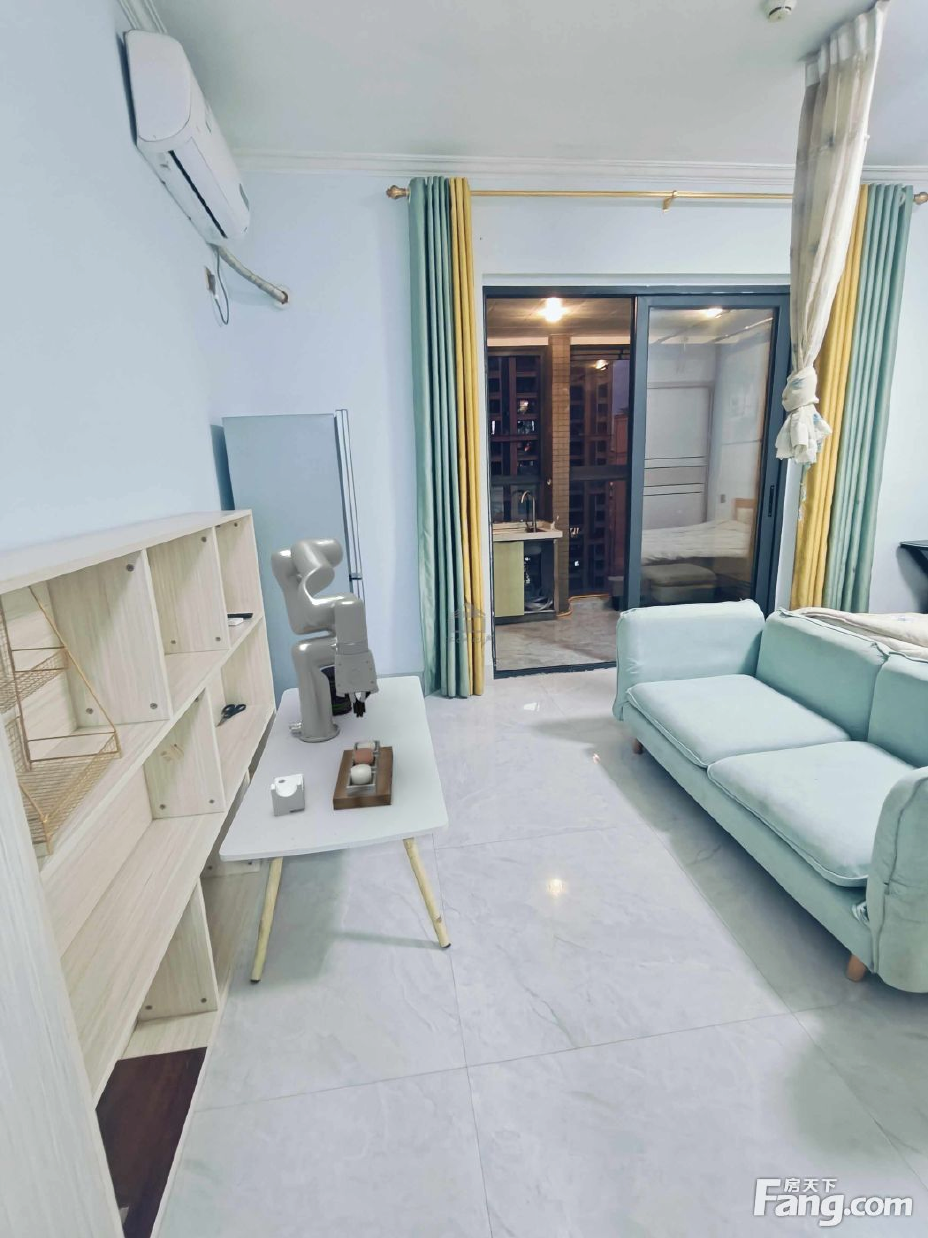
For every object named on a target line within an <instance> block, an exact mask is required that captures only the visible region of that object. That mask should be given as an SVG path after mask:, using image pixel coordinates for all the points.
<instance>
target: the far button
mask: <svg viewBox="0 0 928 1238" xmlns="http://www.w3.org/2000/svg"><path fill="white" fill-rule="evenodd" d="M359 742H360V743H358V745H357V748H358V749H360V748H370V749H372V750H373V751H376V747H375V742H374V740H362V741H359Z"/></svg>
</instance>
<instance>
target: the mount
mask: <svg viewBox="0 0 928 1238" xmlns="http://www.w3.org/2000/svg"><path fill="white" fill-rule="evenodd" d="M373 741H374V742H375V747H376V751H373V759H374V762H373V764H371V765H370V767H371V776H372V780H371V781H370V782H369V783H367V784H363V785H356V784H353V783H352V779H351V768H352V767H354V766H355V761H354V752H355V751H356V750H357V749H358V748H357V745H358V743H360V742H361V741H355V742H354V746H353V749H352V748H351V749H344V750H343V752H342V756H341V760H340V765H339V770H338V773H337V774H338V775H337V778H336V783H335V786H334V787H335V788H334V792H333V796H332V805H333V811H338V810H348V809H349V810H350V809H360V808H371V807H381V806H391V805H392V787H393V784H392V783H393V782H392V781H393V765H394V764H393V762H394V751H393V746H392V745H390V746H389V745H388V746H381V742H380V741H381V740H380V739H377V740H376V739H375V740H373Z"/></svg>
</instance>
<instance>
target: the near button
mask: <svg viewBox="0 0 928 1238" xmlns="http://www.w3.org/2000/svg"><path fill="white" fill-rule="evenodd" d="M351 779H352V783H353V784H356V785H363V784H367V783H369V782H370V781H371V780H372V776H371V767H370V766H369V765H367V764H359V765H355V766H354V767H352V768H351Z"/></svg>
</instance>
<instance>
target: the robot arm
mask: <svg viewBox="0 0 928 1238" xmlns="http://www.w3.org/2000/svg"><path fill="white" fill-rule="evenodd" d="M343 557H344V550H343V547H342V545H341V543H340V542H339V540H338V539H336V537H333V536H322V537H312V538H303V539H299V540H296V541H295V542H294V543H293V544H291V546H288V547H282V548H279V549H277V550H274V551H273V552H272V553H271V557H270V566H271V570H272V574H273V576H274V578H275V580H276V582H277V584H278V585H279V588H280V590H281V592H282V594H283V597H284V598H283V599H284V602H285V603H284V604H285V608H286V613H287V617H288V622H289V626H290V629H291V631H292V632H293V634H295V635H298V636H304V635H312V634H316V633H317V634H318V633H322V632H327V633H328V634H327V635H321V636H315V637H309V638H305V639H301V640H298V641H296V642H295V643H294V644H292V646H291V649H290V656H291V657H290V658H291V660H292V664H293V669H294V670H295V675H296V683H297V690H298V697H299V704H300V705H299V707H300V713H301V714H300V715H301V721H299V722H289V724H288V728H289V730H291V732H297V731H298V737H299V739H300V740H301V741H304V742H307V743H308V742H309V743H318V742H319V743H320V742H323V741H324V742H325V741H327V740H330V739H333V738H334V737H336V736H337V735H338V734H339V733H340V728H339V725H338V724H336V723H334V716H333V714H332V705H331V696H330V686H329V680H328V678H327V676H326V675H325V674H323V673H322V672H321V670H320V669H323V668H326V667H331V666H335V684H336V695H337V696H341V697H346V698H347V699H349V700H350V701H351V703H352V711H353V714H355V715H356V718H357V719H359V718H363V717H364V713H365V714H366V711H367V710H366V700H367V699H368V698H369V697H370V696H371V695H374V694H377V693H379V691H380V688H379V685H378V683H377V682H378V678H377V677H378V676H377V671H376V670H377V669H376V665H375V659H374V656H373V652H372V650H371V649H370V648H369V641H368V640H369V639H368V630H367V623H366V622H367V621H366V610H365V603H364V600H363V599H362V598H360V597H357V595H356V594H355V593H353V592H349V591H347V592H345V591H344V592H339V593H331V594H326V595H325V594H324V595H320V596H315V595H317V594H319V593H320V592H323V591H324V590H325V589H326V588H328V587H330V585H331V584H332V583H333V581H334V579H335V575H336V574H335V569H334V568H336V567H338V566H339V565H340V564H341V563H342V561H343ZM357 693H360V697H359V699H358V696H357Z"/></svg>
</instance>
